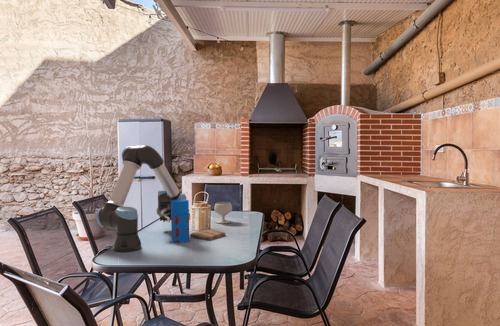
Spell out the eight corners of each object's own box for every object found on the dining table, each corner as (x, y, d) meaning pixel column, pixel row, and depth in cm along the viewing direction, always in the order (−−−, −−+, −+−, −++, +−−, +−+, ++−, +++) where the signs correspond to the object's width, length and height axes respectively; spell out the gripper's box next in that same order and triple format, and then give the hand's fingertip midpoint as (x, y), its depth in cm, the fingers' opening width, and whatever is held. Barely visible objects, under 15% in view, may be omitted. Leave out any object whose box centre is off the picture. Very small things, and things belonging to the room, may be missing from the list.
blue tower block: (185, 243, 210) (184, 202, 209) (168, 242, 212) (168, 201, 211) (191, 238, 221) (191, 199, 220) (175, 237, 223) (175, 199, 222)
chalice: (210, 222, 272) (210, 203, 271) (225, 219, 281) (225, 201, 280) (221, 224, 261) (221, 205, 261) (235, 222, 270) (235, 203, 270)
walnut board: (208, 240, 215) (208, 237, 215) (190, 236, 225) (190, 233, 225) (225, 235, 228) (225, 232, 228) (207, 232, 238) (207, 229, 238)
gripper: (185, 217, 243) (198, 222, 225) (150, 221, 230) (160, 227, 212) (185, 206, 243) (197, 211, 225) (149, 210, 230) (160, 215, 212)
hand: (179, 219), depth 219 cm, fingers open, 13 cm apart
